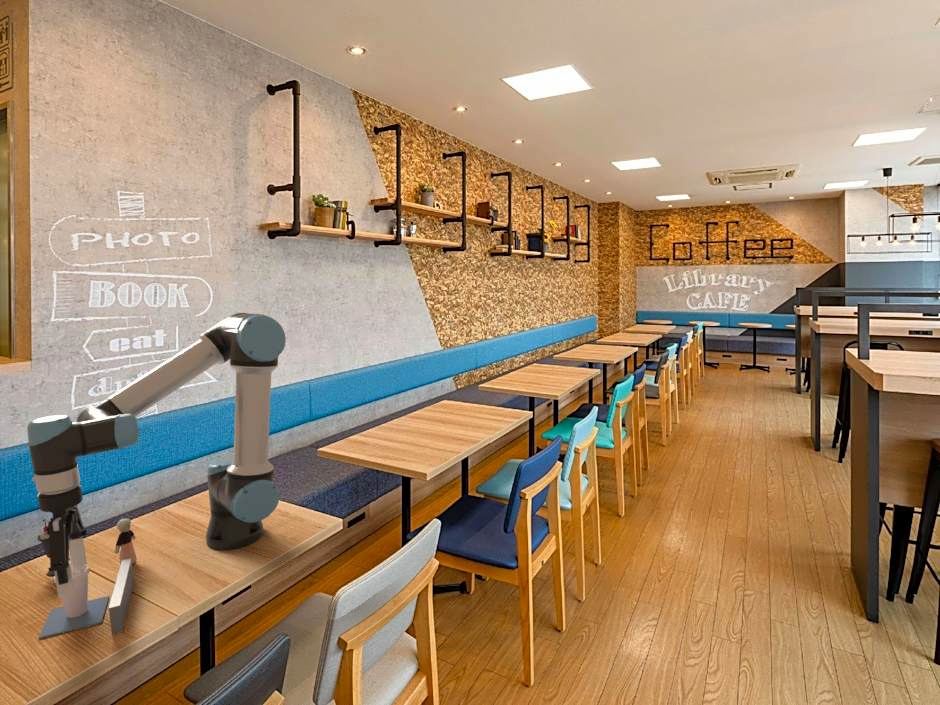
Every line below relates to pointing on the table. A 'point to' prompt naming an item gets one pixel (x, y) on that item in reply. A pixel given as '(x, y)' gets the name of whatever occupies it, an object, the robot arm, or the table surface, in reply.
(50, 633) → the mat
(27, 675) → the table surface
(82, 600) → the smoothie
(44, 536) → the sundae
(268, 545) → the table surface
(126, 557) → the grandmother figurine
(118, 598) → the divider wall
